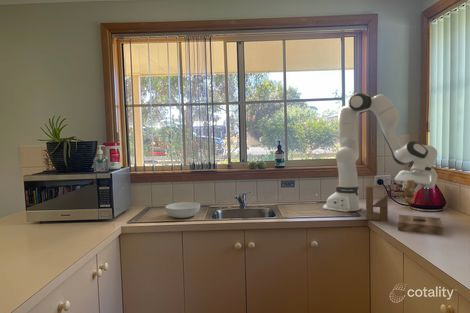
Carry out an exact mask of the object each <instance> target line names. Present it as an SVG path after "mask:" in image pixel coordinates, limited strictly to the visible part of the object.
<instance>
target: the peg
mask: <svg viewBox="0 0 470 313" xmlns="http://www.w3.org/2000/svg"><path fill="white" fill-rule="evenodd" d="M413 188H415V186H414V180H405V191H404V196H405V201H404V202H405V204H414V198H415V192H413Z"/></svg>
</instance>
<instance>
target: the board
mask: <svg viewBox="0 0 470 313" xmlns="http://www.w3.org/2000/svg"><path fill="white" fill-rule="evenodd" d="M443 225H444V224H442V220H441V217H432V216H418V215H405V214H399V215H398V220H397V231H398V232H406V233H407V232H408V233H415V232H416V233H418V234H426V233H427V234H426V235H437V236H444V226H443Z"/></svg>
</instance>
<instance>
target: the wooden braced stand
mask: <svg viewBox="0 0 470 313" xmlns="http://www.w3.org/2000/svg"><path fill="white" fill-rule="evenodd" d="M388 200H389V199H388V193H385V194H384V195H383V196H382V197H380V198H379V200H377V201H376V202H375V203H374V186H373V185H366V186H365V220H366V221H367V220H369V221H370V220H371V221H383V222H384V221H385V222H386V221H389V218H388V217H389V216H388V215H389V214H388V212H389V210H388V207H389V204H388ZM374 208H379V212H377V211H374Z"/></svg>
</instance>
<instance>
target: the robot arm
mask: <svg viewBox="0 0 470 313" xmlns="http://www.w3.org/2000/svg"><path fill="white" fill-rule="evenodd" d="M369 111H372V112H373V114H374V115H375V117H376V119H377V120H378V123H379V126H380V131H381V133H382V135H383V137H384V140H385V142H386V143H387V145H388V148H389V149H390V152H391V156H392V159H393V161H395V163H396V164H397V165H400V166H407V165H408V164H410V163H411V162H412V163H413V164H412V165H411V167H410V169H402V170H400V171H398V174H396V176H395V177H394V182H395V183H396V184H397V185H402V187H401V190H402V191H403V192H405V180H414V188H413V192H414V194H415V193H417V192H418V191H420V190H421V189H422V188H426V189H427V188H428V189H433V188H434V187H435V186H436V184H437V181H438V180H437V179H438V177H439V176H438V173H437V171H436V170H435V168H433V166H434V164H435V162H436V161H437V157H438V150H437V149H436V148H435V147H434V146H432V145H430V144H429V145H428V144H427V145H425V144H422V143H420V142H419V141H416V140H411V141H409V142H407V143H405V144H404V145H401V143H400V140H399V139H398V137H397V134H396V128H397V126H398V124H399V122H400V112H399V111H398V109H397V107H396V106H395V105H394V103H393V102H392V100H390V99H389V98H388V96H386V95H385V94H376V95H374V96H370V95H369V94H367V93H363V92H356V93H354V94H352V95H351V96H350V97H349V100H348V105H344V106H342V107H340V109H339V112H338V117H337V118H338V119H337V122H338V123H337V133H338V134H337V135H338V136H337V137H338V141H339V149H338V150H337V152H336V153H335V160H336V165H337V173H338V185H336V186H335V192H334V193H332V194H331V195H330V196H328V198H327V200H326V203H325V204H324V205H323V206H322V209H323V210H329V211H335V212H336V211H337V212H346V213H348V212H355V211H360V210H361V209H362V208H361V205H360V201H359V200H360V199H359V195H360V194H359V193H360V192H359V191H360V190H359V188H360V187H359V186H358V183H359V182H358V181H359V180H358V171H357V163H356V162H357V161H358V160H359V157H360V151H359V149H360V148H359V140H358V116H359V115H361V114H364V113H367V112H369Z"/></svg>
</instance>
